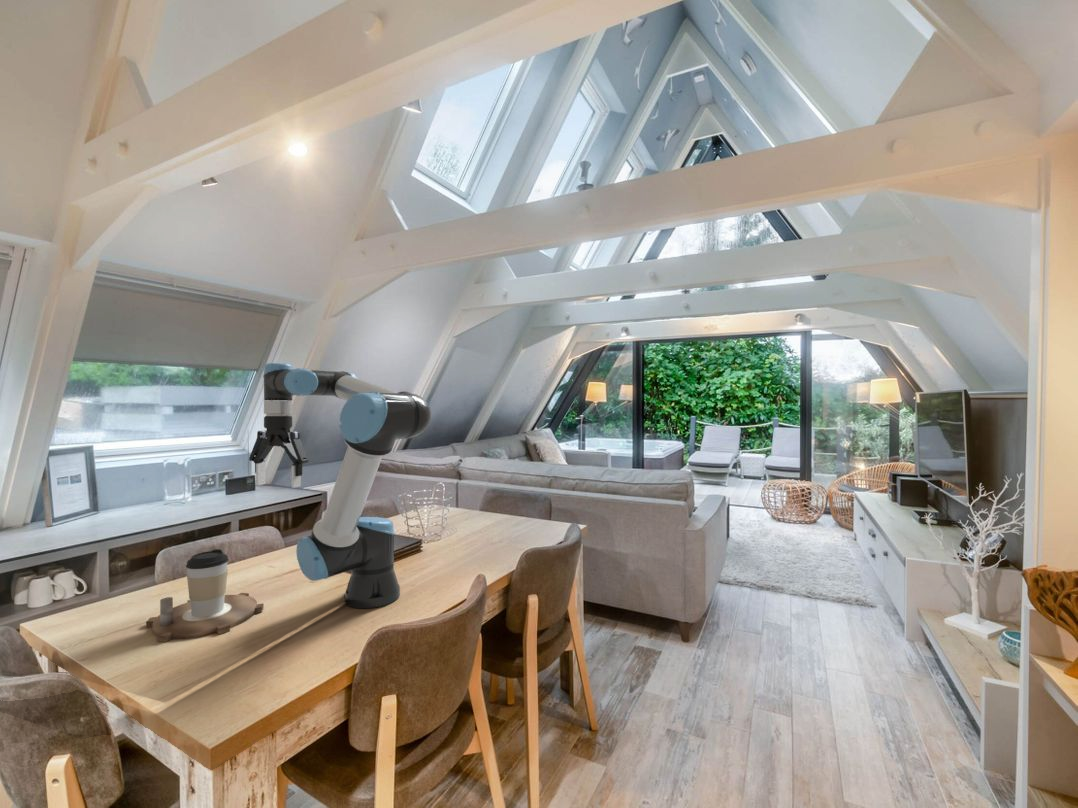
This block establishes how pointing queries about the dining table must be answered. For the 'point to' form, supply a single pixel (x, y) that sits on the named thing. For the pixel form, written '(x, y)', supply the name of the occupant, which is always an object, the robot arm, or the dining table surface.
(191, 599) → the coffee cup
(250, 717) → the dining table surface
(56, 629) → the dining table surface
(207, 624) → the index disc
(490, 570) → the dining table surface
